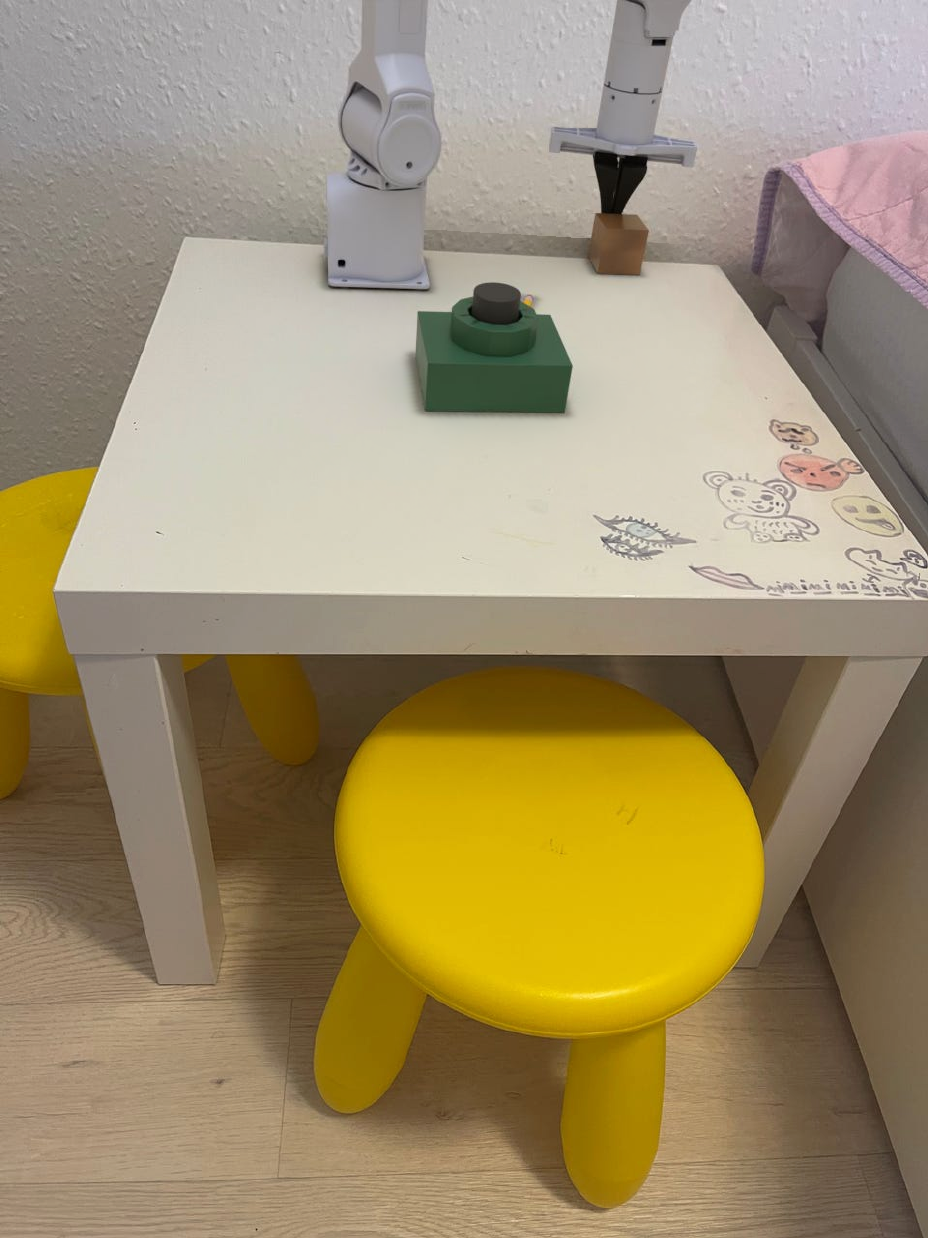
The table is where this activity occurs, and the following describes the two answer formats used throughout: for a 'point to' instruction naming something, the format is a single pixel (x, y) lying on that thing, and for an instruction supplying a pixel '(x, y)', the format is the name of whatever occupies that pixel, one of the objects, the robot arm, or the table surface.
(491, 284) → the dark grey push button
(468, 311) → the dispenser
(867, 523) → the table surface
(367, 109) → the robot arm
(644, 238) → the block
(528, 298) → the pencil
